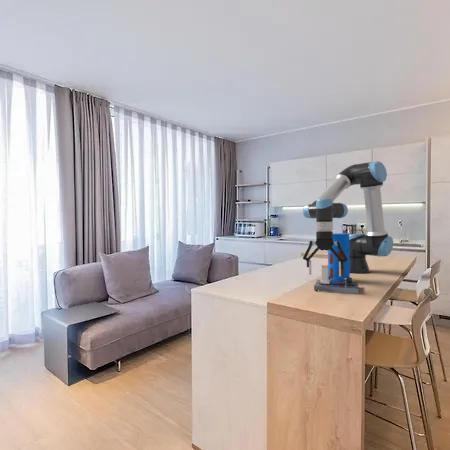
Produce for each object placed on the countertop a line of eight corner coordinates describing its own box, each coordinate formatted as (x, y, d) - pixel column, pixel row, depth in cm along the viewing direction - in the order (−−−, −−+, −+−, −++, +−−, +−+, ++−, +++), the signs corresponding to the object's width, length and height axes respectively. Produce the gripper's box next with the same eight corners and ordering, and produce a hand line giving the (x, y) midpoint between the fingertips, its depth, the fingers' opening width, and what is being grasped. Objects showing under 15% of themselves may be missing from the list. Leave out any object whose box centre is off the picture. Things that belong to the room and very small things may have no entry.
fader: (321, 281, 148) (321, 264, 148) (330, 281, 147) (329, 265, 146) (320, 283, 143) (320, 266, 143) (329, 283, 142) (328, 266, 142)
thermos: (351, 282, 156) (351, 234, 155) (329, 282, 158) (329, 234, 157) (347, 278, 167) (346, 233, 166) (327, 278, 169) (326, 233, 168)
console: (317, 284, 155) (317, 275, 154) (358, 286, 147) (358, 277, 147) (314, 291, 141) (313, 281, 141) (358, 294, 134) (358, 284, 134)
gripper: (296, 231, 146) (297, 274, 146) (352, 231, 136) (353, 278, 136) (299, 230, 153) (299, 272, 153) (352, 230, 143) (353, 275, 143)
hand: (324, 275), depth 145 cm, fingers open, 13 cm apart
